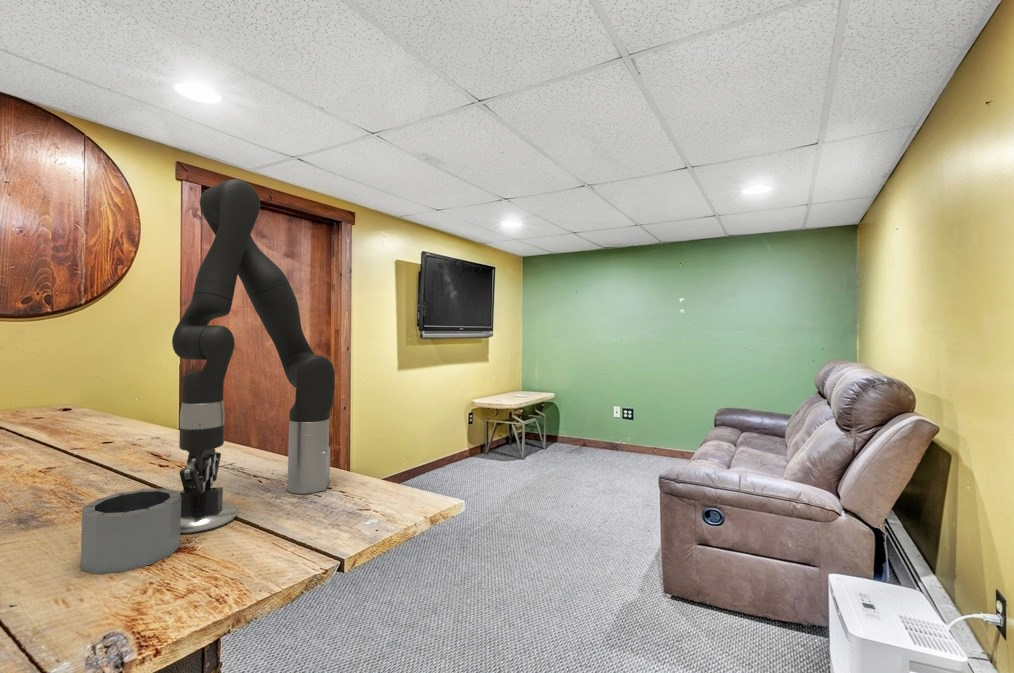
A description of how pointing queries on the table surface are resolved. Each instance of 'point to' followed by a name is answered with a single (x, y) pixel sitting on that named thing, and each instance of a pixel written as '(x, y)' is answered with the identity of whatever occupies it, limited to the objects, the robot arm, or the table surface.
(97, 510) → the pot
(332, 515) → the table surface
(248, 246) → the robot arm
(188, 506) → the lid
